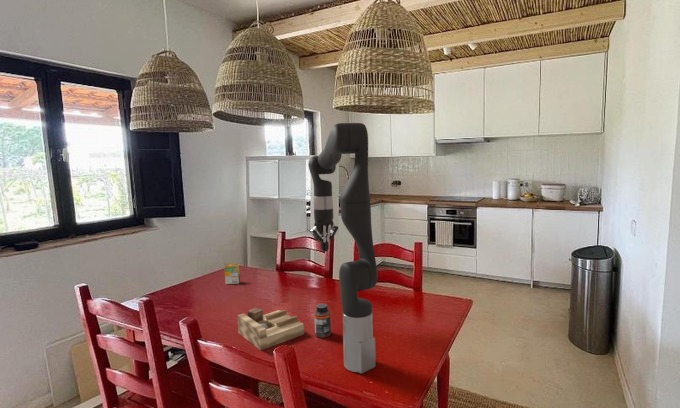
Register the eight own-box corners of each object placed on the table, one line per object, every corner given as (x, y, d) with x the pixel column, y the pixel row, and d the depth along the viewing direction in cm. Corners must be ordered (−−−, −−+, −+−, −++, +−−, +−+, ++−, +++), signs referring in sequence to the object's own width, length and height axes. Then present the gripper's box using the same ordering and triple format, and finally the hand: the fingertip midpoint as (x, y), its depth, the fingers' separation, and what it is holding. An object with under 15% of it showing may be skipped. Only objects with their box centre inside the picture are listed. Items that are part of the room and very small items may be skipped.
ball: (266, 322, 134) (255, 333, 131) (273, 331, 136) (263, 342, 133) (260, 318, 137) (250, 328, 135) (267, 326, 140) (257, 337, 137)
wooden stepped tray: (304, 334, 137) (303, 316, 136) (260, 350, 125) (259, 331, 125) (279, 319, 150) (279, 302, 150) (238, 332, 139) (237, 315, 138)
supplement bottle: (322, 329, 140) (321, 301, 139) (334, 333, 136) (333, 304, 135) (311, 335, 136) (310, 306, 134) (323, 340, 132) (322, 309, 131)
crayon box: (240, 282, 201) (239, 261, 199) (239, 283, 198) (237, 263, 196) (226, 282, 200) (225, 262, 199) (225, 284, 197) (224, 263, 196)
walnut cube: (263, 319, 141) (262, 309, 140) (255, 323, 138) (254, 313, 137) (256, 317, 143) (255, 307, 143) (248, 321, 140) (247, 311, 140)
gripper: (315, 210, 135) (316, 255, 137) (342, 206, 143) (343, 250, 145) (303, 208, 141) (305, 252, 143) (330, 205, 149) (332, 247, 151)
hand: (324, 251), depth 144 cm, fingers closed
